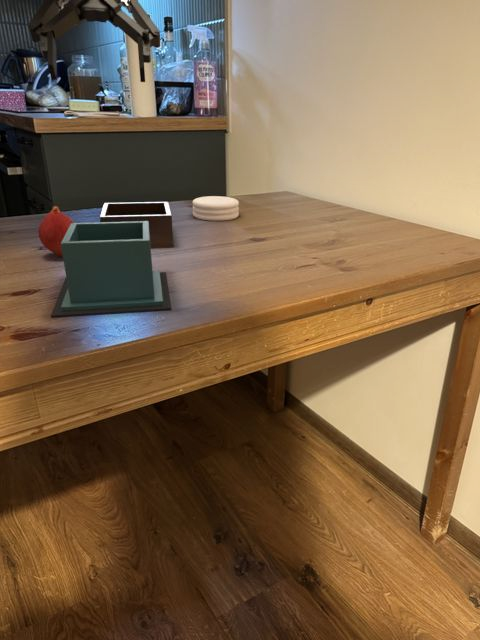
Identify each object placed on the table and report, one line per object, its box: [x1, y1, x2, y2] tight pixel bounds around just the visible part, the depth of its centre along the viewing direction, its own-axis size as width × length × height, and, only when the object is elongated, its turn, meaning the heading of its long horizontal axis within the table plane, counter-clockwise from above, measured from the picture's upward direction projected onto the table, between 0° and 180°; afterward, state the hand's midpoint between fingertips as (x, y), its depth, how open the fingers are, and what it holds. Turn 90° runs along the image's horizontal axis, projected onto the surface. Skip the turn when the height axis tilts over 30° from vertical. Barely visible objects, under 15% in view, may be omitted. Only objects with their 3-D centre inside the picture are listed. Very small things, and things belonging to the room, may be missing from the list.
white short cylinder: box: [192, 195, 240, 222], centre depth 108 cm, size 10×10×4 cm
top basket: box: [61, 221, 163, 311], centre depth 64 cm, size 12×12×8 cm
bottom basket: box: [99, 201, 174, 249], centre depth 89 cm, size 12×12×6 cm
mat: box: [50, 271, 172, 319], centre depth 66 cm, size 14×14×1 cm
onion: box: [38, 206, 75, 258], centre depth 78 cm, size 6×6×8 cm
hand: (98, 74), depth 78 cm, fingers open, 13 cm apart
